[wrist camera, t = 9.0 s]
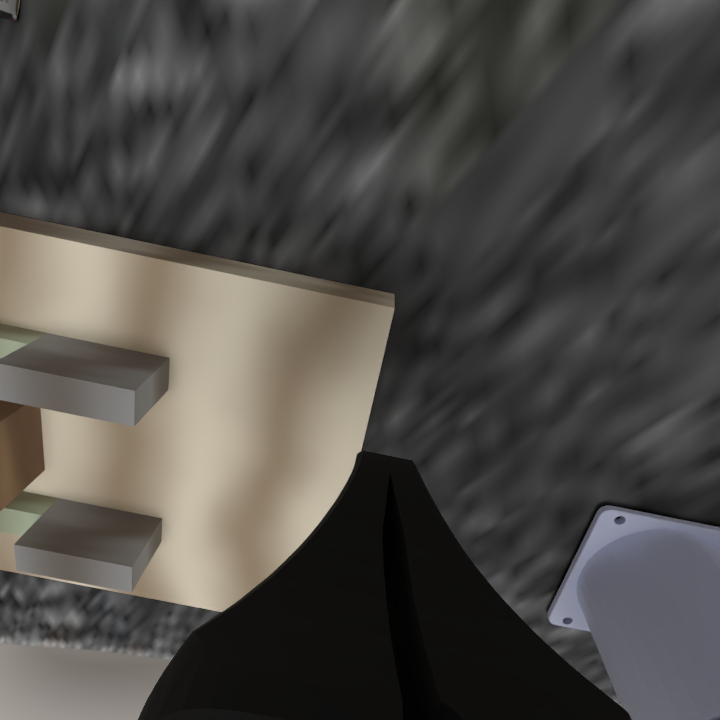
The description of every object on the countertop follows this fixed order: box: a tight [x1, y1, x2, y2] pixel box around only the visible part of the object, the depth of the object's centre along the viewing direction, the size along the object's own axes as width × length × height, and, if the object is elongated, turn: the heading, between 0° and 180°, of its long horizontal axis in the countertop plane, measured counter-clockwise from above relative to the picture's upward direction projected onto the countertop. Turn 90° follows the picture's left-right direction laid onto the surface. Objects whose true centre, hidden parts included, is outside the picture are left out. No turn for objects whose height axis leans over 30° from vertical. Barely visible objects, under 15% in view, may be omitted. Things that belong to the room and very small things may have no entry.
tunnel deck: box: [0, 212, 395, 612], centre depth 22 cm, size 27×18×5 cm, turn 79°
